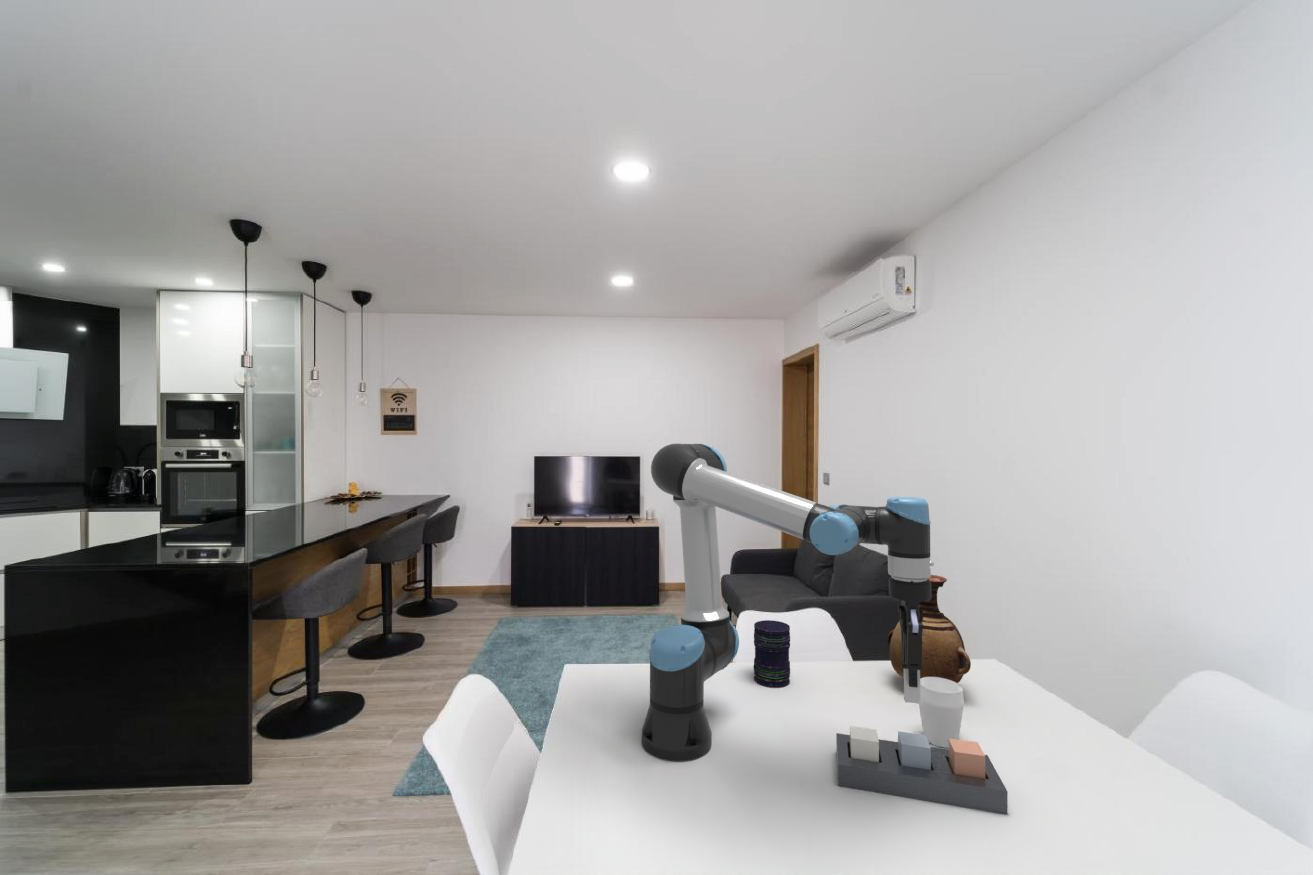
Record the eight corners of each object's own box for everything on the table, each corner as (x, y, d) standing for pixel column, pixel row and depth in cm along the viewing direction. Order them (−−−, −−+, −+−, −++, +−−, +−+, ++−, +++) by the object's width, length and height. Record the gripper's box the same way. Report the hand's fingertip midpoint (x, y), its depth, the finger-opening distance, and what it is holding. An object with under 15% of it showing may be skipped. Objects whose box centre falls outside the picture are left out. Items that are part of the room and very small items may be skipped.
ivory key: (851, 764, 106) (851, 738, 107) (849, 750, 111) (849, 725, 111) (878, 768, 105) (878, 742, 105) (876, 754, 110) (876, 729, 110)
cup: (970, 753, 115) (970, 695, 116) (924, 748, 117) (923, 691, 117) (956, 732, 124) (955, 678, 124) (913, 727, 126) (912, 674, 126)
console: (838, 785, 104) (838, 764, 104) (836, 752, 115) (836, 733, 115) (1007, 814, 96) (1007, 791, 96) (987, 775, 107) (987, 755, 107)
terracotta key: (954, 779, 101) (954, 751, 102) (948, 764, 106) (948, 738, 106) (985, 784, 100) (985, 756, 100) (977, 768, 105) (977, 742, 105)
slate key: (901, 770, 104) (901, 744, 104) (898, 756, 109) (898, 731, 109) (930, 775, 103) (930, 748, 103) (925, 761, 107) (925, 735, 107)
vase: (871, 678, 153) (871, 569, 154) (924, 670, 159) (923, 566, 159) (931, 713, 133) (930, 588, 134) (989, 703, 138) (988, 583, 139)
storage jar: (769, 670, 158) (769, 618, 159) (797, 681, 151) (797, 626, 151) (746, 679, 152) (746, 624, 152) (774, 691, 145) (774, 634, 145)
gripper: (937, 586, 99) (940, 719, 98) (924, 571, 112) (927, 689, 111) (892, 583, 101) (895, 714, 101) (885, 569, 114) (887, 685, 113)
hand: (912, 701), depth 106 cm, fingers closed
